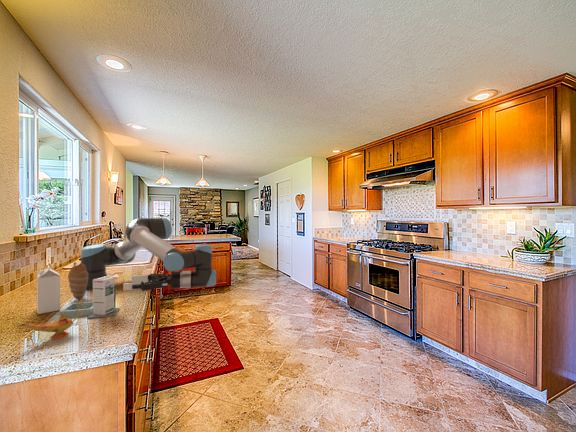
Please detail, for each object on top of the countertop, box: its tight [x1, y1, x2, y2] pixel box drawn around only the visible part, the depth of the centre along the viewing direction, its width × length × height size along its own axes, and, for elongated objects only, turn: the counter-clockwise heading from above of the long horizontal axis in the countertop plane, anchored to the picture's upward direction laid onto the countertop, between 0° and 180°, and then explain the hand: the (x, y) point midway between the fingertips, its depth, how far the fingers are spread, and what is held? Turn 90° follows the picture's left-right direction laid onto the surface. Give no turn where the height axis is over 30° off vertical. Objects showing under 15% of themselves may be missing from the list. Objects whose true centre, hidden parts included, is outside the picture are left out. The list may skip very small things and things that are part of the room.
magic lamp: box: [16, 298, 87, 340], centre depth 92 cm, size 7×18×11 cm, turn 141°
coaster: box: [86, 307, 121, 320], centre depth 114 cm, size 9×9×1 cm
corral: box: [59, 301, 93, 318], centre depth 116 cm, size 11×11×2 cm
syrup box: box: [92, 275, 117, 315], centre depth 114 cm, size 6×6×14 cm
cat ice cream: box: [67, 261, 88, 300], centre depth 132 cm, size 9×8×18 cm
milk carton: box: [36, 264, 61, 315], centre depth 117 cm, size 7×7×19 cm
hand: (127, 282), depth 117 cm, fingers open, 13 cm apart
